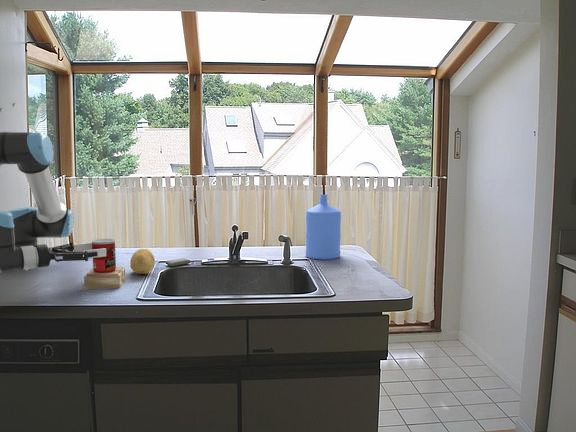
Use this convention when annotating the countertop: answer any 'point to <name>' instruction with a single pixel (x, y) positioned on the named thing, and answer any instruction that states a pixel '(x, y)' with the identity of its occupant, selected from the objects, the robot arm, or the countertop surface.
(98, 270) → the canned food
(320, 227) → the water jug
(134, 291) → the countertop surface
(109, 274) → the plinth
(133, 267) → the potato
